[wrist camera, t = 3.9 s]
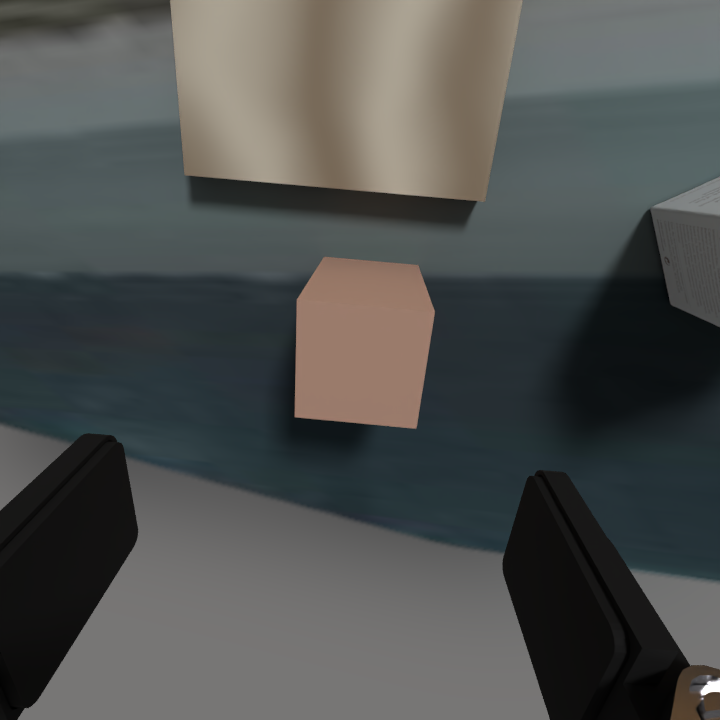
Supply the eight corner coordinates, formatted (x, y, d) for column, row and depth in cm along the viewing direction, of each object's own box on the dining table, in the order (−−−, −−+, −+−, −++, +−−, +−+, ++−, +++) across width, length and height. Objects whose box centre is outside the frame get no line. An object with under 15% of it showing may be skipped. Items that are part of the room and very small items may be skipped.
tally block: (418, 265, 23) (434, 312, 16) (406, 351, 25) (416, 428, 18) (324, 256, 23) (297, 299, 16) (320, 343, 25) (294, 417, 18)
